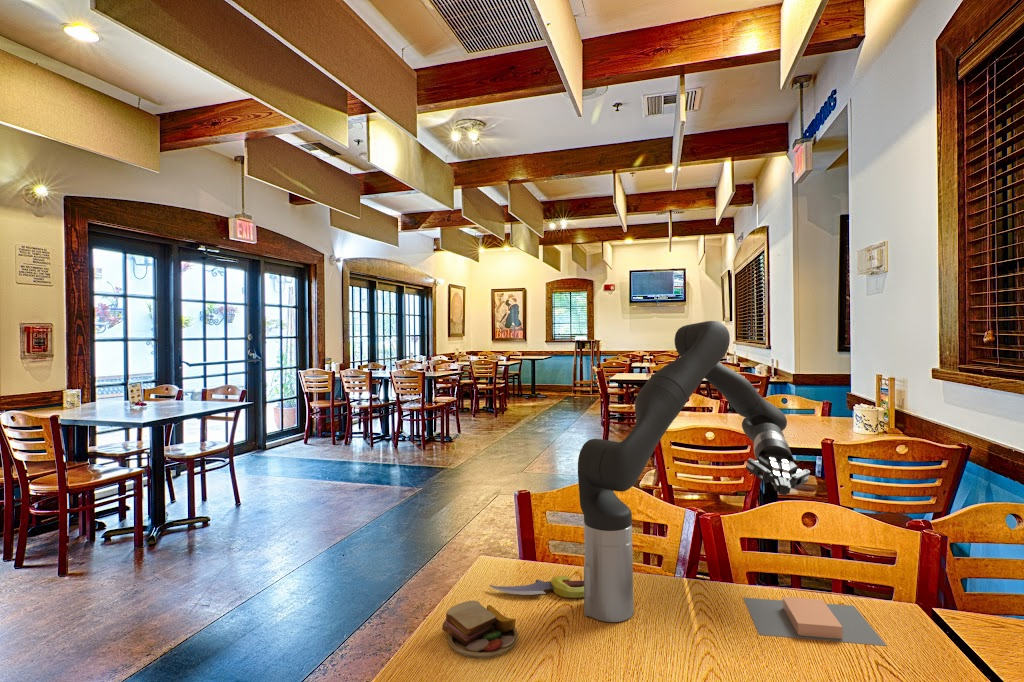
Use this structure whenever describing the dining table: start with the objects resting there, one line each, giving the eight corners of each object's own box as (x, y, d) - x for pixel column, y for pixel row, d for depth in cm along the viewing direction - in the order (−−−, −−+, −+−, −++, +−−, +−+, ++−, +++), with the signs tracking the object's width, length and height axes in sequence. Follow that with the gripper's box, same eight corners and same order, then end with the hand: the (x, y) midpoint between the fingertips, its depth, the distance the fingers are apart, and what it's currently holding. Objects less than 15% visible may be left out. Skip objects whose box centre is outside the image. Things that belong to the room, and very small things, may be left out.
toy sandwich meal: (472, 671, 90) (471, 642, 90) (432, 636, 100) (431, 610, 100) (532, 644, 97) (532, 617, 97) (489, 614, 108) (488, 590, 108)
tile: (782, 608, 106) (798, 635, 96) (782, 596, 106) (798, 623, 96) (822, 611, 104) (842, 639, 94) (822, 599, 104) (842, 626, 94)
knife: (488, 604, 112) (611, 600, 113) (488, 591, 112) (610, 587, 113) (489, 587, 120) (603, 583, 121) (488, 574, 120) (603, 571, 121)
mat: (759, 640, 97) (759, 634, 97) (743, 602, 110) (743, 597, 110) (887, 651, 92) (887, 645, 92) (854, 610, 106) (853, 605, 106)
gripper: (744, 432, 128) (752, 467, 112) (807, 443, 124) (824, 481, 108) (738, 460, 130) (745, 499, 114) (800, 472, 126) (815, 514, 111)
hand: (783, 490), depth 111 cm, fingers closed
